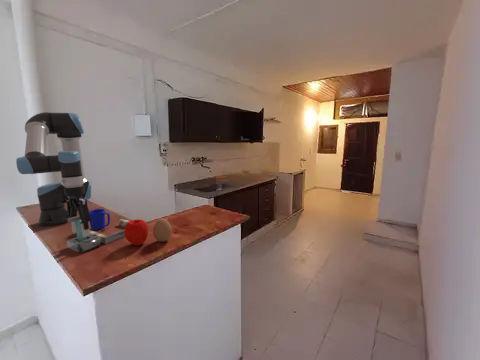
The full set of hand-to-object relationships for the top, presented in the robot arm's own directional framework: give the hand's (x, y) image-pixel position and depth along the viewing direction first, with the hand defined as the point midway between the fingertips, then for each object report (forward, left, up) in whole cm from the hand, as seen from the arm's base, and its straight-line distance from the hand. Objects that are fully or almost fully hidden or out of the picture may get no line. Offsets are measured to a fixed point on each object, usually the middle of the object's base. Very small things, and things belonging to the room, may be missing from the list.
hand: (81, 233), depth 106 cm
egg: (+30, +21, -6) cm, 37 cm away
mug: (-14, +16, -6) cm, 22 cm away
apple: (+22, +13, -6) cm, 26 cm away
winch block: (+2, 0, -6) cm, 6 cm away
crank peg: (0, 0, -5) cm, 5 cm away
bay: (-2, +16, -6) cm, 17 cm away
